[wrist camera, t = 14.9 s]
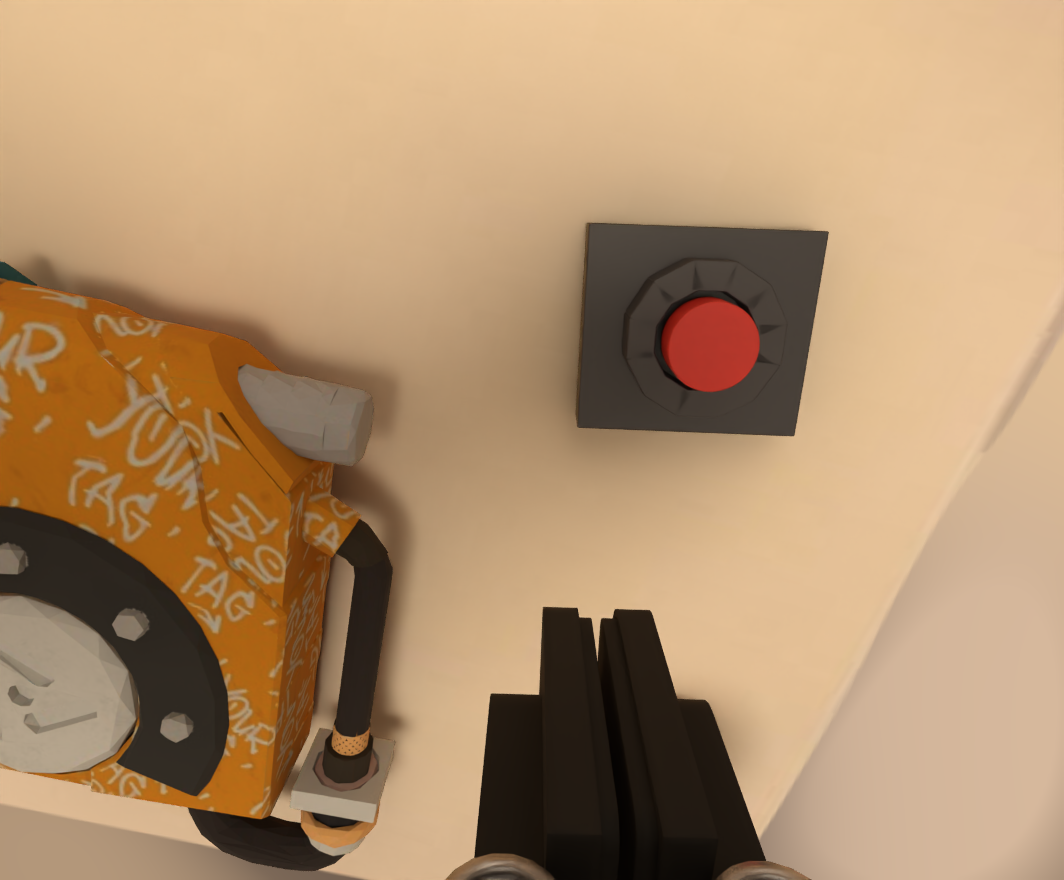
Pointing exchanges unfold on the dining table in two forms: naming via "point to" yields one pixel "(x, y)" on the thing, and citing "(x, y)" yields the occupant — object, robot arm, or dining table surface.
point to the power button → (710, 344)
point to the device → (182, 575)
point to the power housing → (667, 283)
